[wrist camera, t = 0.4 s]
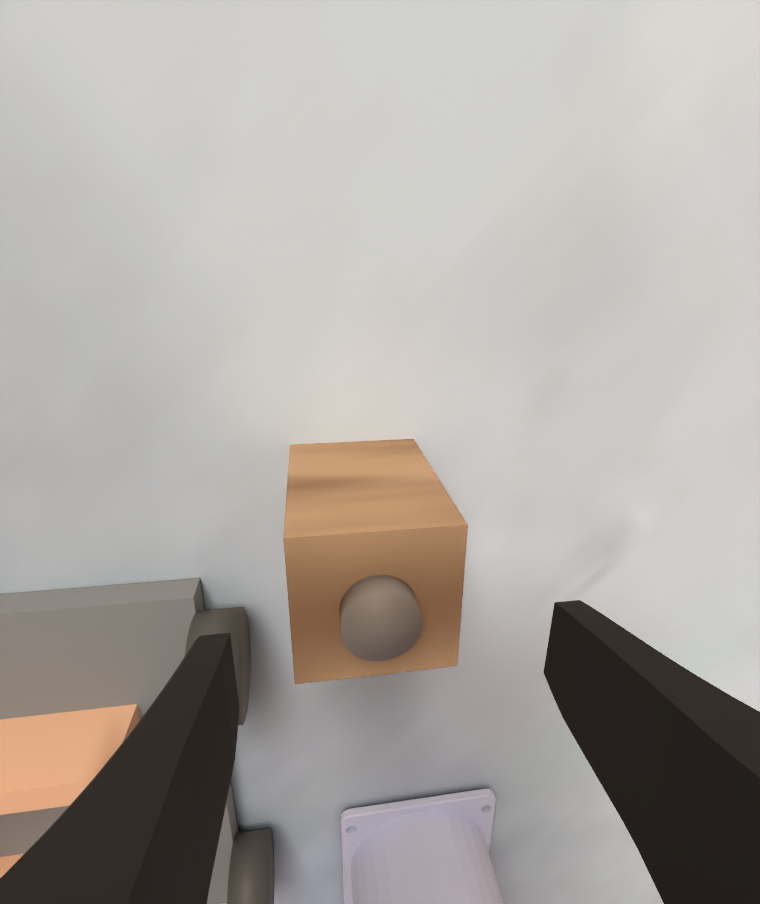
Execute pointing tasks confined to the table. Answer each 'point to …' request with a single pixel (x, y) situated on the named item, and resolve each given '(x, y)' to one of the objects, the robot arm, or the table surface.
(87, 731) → the chassis
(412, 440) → the block
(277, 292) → the table surface
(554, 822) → the table surface
